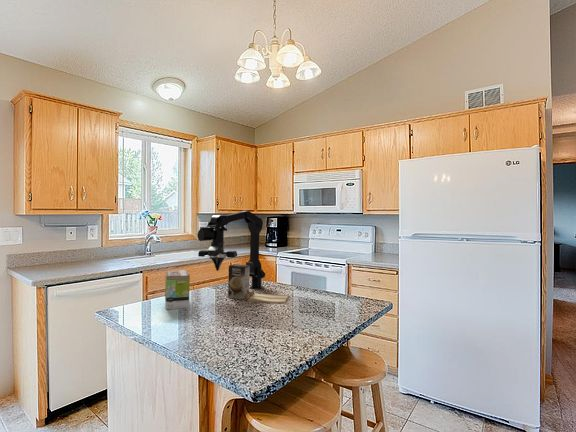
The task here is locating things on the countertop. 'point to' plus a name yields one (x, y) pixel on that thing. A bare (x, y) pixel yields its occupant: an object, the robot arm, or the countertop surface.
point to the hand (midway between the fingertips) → (217, 270)
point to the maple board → (268, 298)
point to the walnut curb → (249, 295)
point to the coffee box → (238, 281)
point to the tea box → (177, 289)
